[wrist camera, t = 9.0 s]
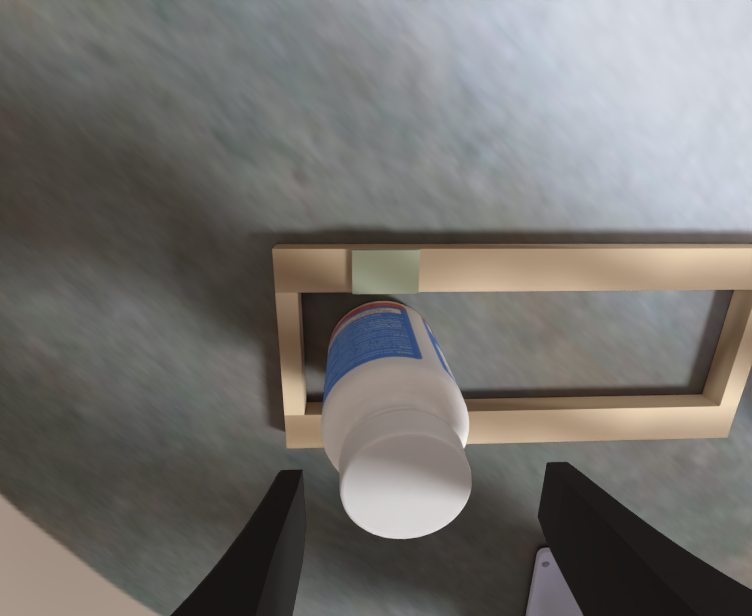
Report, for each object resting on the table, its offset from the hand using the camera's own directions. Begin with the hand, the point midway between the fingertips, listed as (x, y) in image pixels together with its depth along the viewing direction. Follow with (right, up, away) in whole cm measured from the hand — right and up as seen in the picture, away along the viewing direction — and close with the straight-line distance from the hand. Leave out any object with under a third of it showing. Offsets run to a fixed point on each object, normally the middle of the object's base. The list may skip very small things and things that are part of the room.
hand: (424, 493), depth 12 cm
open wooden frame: (+6, +4, +9) cm, 12 cm away
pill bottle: (-1, +3, +9) cm, 10 cm away
